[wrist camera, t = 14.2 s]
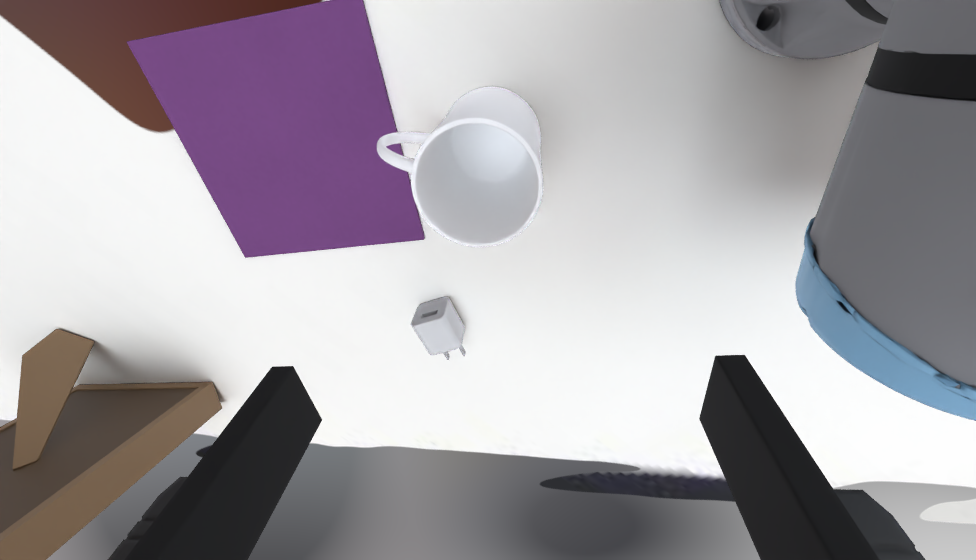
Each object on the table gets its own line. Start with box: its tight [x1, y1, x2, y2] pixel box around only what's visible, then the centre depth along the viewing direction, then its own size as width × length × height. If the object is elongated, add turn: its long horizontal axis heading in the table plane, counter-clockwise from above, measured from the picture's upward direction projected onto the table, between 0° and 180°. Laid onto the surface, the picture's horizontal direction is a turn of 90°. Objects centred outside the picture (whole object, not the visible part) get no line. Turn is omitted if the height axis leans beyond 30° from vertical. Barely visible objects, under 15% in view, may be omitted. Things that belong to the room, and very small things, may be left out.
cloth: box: [127, 0, 425, 258], centre depth 35 cm, size 20×20×1 cm
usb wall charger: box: [411, 297, 465, 360], centre depth 43 cm, size 4×7×4 cm, turn 22°
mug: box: [377, 87, 543, 247], centre depth 28 cm, size 12×8×12 cm
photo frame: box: [0, 329, 222, 560], centre depth 43 cm, size 15×22×25 cm
